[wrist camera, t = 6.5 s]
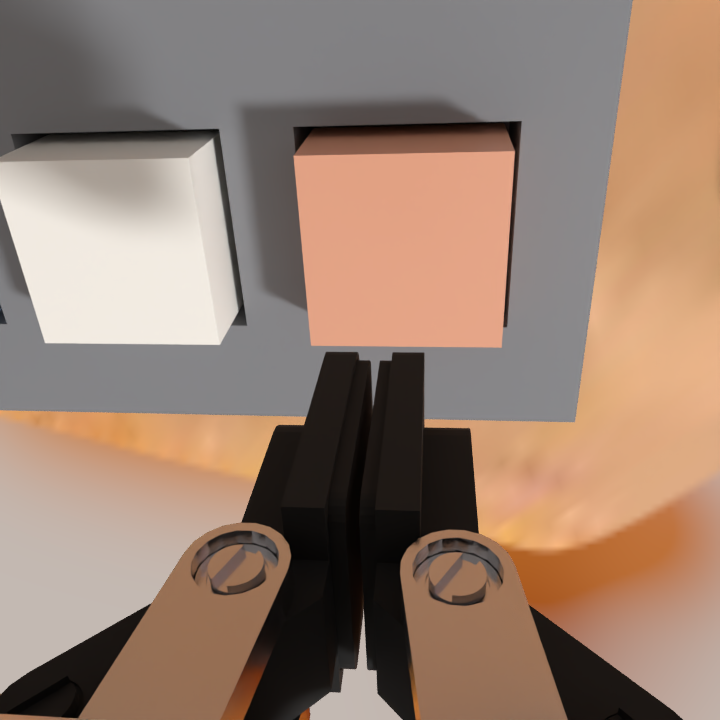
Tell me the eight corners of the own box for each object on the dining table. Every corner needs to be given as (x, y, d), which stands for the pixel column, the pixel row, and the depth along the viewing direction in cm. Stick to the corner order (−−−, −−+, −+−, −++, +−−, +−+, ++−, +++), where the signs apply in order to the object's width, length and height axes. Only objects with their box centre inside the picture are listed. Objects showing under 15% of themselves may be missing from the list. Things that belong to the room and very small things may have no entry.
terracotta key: (314, 127, 18) (293, 156, 16) (504, 122, 18) (514, 151, 15) (326, 297, 21) (310, 345, 18) (493, 298, 20) (501, 347, 18)
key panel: (-238, 2, 21) (-387, 12, 17) (596, -39, 19) (637, -37, 15) (-92, 342, 27) (-180, 406, 23) (553, 348, 25) (574, 422, 21)
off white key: (48, 134, 19) (-12, 162, 17) (222, 130, 19) (188, 158, 16) (91, 297, 22) (44, 343, 19) (246, 297, 21) (219, 344, 19)
